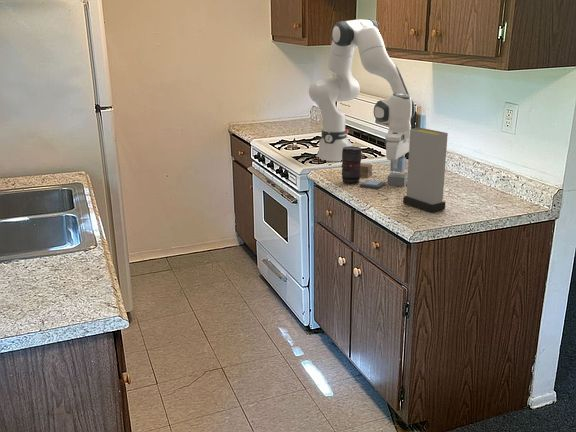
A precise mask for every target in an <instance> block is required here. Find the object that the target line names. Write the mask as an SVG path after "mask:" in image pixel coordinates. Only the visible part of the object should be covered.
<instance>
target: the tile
mask: <svg viewBox="0 0 576 432" xmlns="http://www.w3.org/2000/svg"><path fill="white" fill-rule="evenodd" d="M385 185H386V182H384V181H381V180H380V181H379V180H372V179H366V180H365V181H363V182H362V183H359V188H364V189H374V190H379V189H381V188H382V187H384V186H385Z"/></svg>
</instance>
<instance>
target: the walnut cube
mask: <svg viewBox="0 0 576 432" xmlns="http://www.w3.org/2000/svg"><path fill="white" fill-rule="evenodd" d="M360 170H361V173H360V178H367V179H368V178H370V177H371V176H372V175H373V164H371V163H361V169H360Z"/></svg>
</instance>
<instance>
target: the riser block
mask: <svg viewBox="0 0 576 432" xmlns="http://www.w3.org/2000/svg"><path fill="white" fill-rule="evenodd" d="M407 177H408V173H406V172H404V173H403V172H393V171H390V173H389V174H388V175H387V184H386V185H387V186H392V187H394V186H395V187H405V186H406V185H407Z"/></svg>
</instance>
